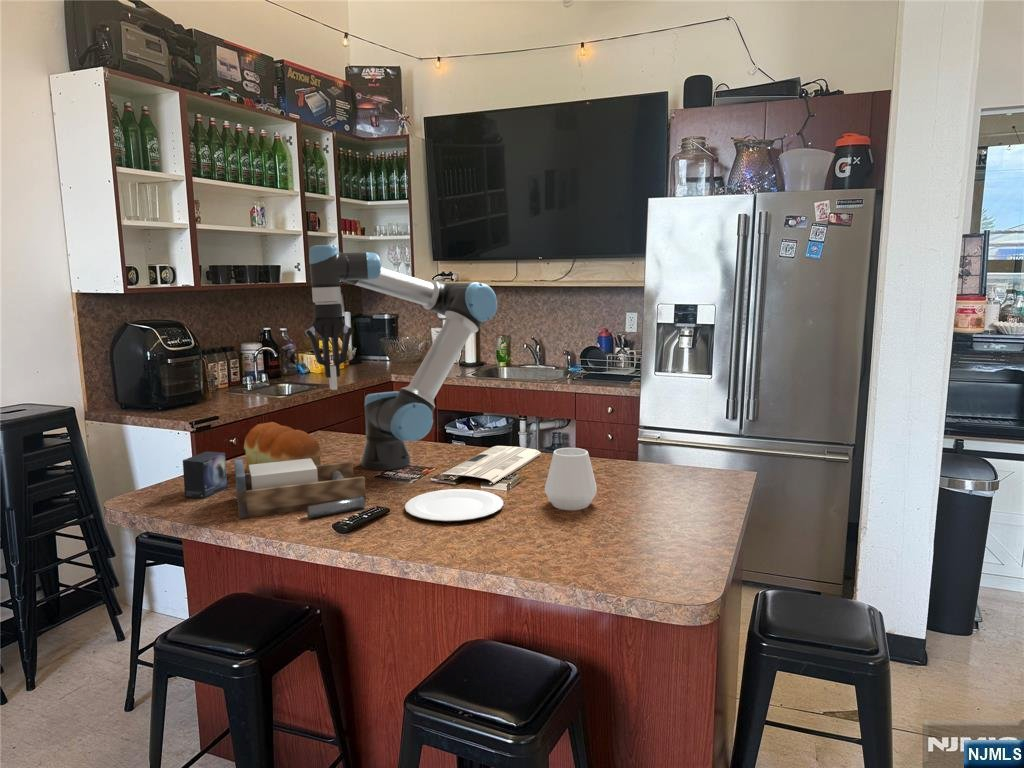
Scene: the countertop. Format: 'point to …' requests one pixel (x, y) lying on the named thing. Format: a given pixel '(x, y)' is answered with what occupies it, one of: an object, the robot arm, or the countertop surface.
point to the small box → (204, 474)
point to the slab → (282, 473)
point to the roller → (335, 507)
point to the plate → (454, 505)
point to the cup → (570, 479)
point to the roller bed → (297, 491)
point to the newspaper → (493, 463)
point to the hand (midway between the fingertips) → (333, 388)
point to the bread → (279, 445)
